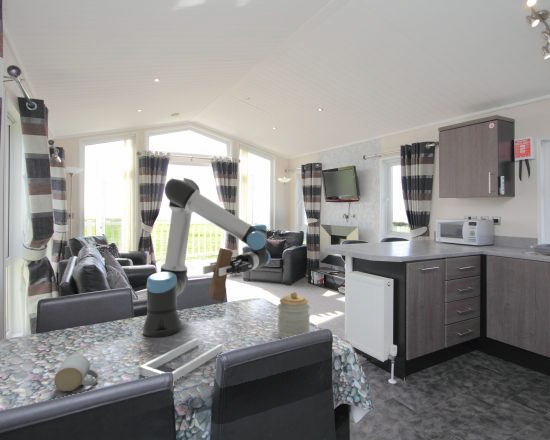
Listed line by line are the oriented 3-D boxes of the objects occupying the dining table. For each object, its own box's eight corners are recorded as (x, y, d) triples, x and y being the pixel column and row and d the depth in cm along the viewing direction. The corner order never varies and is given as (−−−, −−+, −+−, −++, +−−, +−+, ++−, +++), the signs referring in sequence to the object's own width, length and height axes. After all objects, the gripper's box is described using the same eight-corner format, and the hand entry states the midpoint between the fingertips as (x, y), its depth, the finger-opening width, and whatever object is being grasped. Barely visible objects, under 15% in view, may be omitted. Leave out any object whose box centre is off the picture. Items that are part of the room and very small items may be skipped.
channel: (139, 374, 101) (139, 366, 101) (195, 344, 123) (195, 338, 123) (168, 385, 95) (168, 376, 95) (222, 351, 117) (222, 344, 117)
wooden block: (223, 301, 120) (235, 254, 120) (211, 299, 118) (224, 251, 118) (219, 294, 128) (230, 250, 128) (208, 292, 127) (219, 247, 127)
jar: (300, 344, 123) (300, 298, 122) (271, 337, 130) (271, 293, 129) (315, 333, 134) (315, 290, 133) (287, 327, 141) (287, 286, 140)
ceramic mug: (52, 395, 89) (52, 368, 89) (61, 380, 97) (61, 355, 97) (96, 389, 93) (96, 363, 93) (101, 375, 101) (101, 350, 100)
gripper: (266, 273, 136) (233, 284, 116) (228, 268, 145) (191, 278, 125) (266, 255, 136) (233, 263, 116) (228, 251, 145) (191, 259, 125)
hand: (211, 271), depth 120 cm, fingers closed on wooden block, 7 cm apart
